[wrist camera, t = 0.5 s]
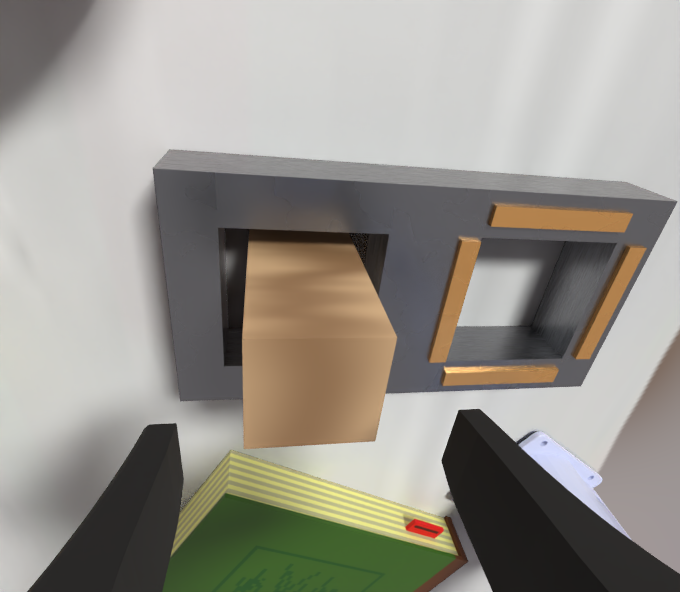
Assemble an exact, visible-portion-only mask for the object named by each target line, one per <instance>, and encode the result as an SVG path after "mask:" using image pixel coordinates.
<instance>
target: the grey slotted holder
mask: <svg viewBox="0 0 680 592" xmlns="http://www.w3.org/2000/svg"><path fill="white" fill-rule="evenodd" d="M153 174H154V182H155V191H156V199H157V208H158V216H159V225H160V233H161V241H162V250H163V258H164V267H165V275H166V284H167V292H168V301H169V309H170V317H171V326H172V334H173V343H174V351H175V360H176V368H177V376H178V385H179V393H180V401H198V400H224V399H243V363H242V333H243V328H229V327H228V299H227V271H226V243H225V228H241V229H267V230H293V231H318V232H344V233H369V236H368V243H367V250H366V256H365V263H364V267H365V269H366V271H367V273H368V276H369V278H370V280H371V282H372V284H373V286H374V288H375V291H376V293H377V295H378V297H379V299H380V301H381V304H382V306H383V308H384V310H385V312H386V314H387V316H388V319H389V321H390V323H391V325H392V327H393V329H394V332H395V334H396V336H397V341H396V346H395V351H394V355H393V360H392V365H391V369H390V374H389V379H388V383H387V388H386V393H412V392H439V391H465V390H492V389H519V388H546V387H573V386H581V385H582V383H583V381H584V379H585V377H586V375H587V373H588V371H589V369H590V368H591V366H592V364H593V362H594V360H595V358H596V356H597V354H598V352H599V350H600V348H601V347H602V345H603V343H604V341H605V339H606V337H607V335H608V333H609V331H610V329H611V327H612V326H613V324H614V322H615V320H616V318H617V316H618V314H619V312H620V310H621V308H622V306H623V305H624V303H625V301H626V299H627V297H628V295H629V293H630V291H631V289H632V287H633V285H634V283H635V282H636V280H637V278H638V276H639V274H640V272H641V270H642V268H643V266H644V264H645V262H646V261H647V259H648V257H649V255H650V253H651V251H652V249H653V247H654V245H655V243H656V241H657V240H658V238H659V236H660V234H661V232H662V230H663V228H664V226H665V224H666V222H667V220H668V219H669V217H670V215H671V213H672V211H673V209H674V207H675V205H676V203H677V201H675V200H672V199H670V198H667V197H664V196H662V195H659V194H656V193H654V192H651V191H648V190H646V189H643V188H640V187H638V186H635V185H632V184H630V183H627V182H616V181H602V180H588V179H574V178H560V177H546V176H532V175H518V174H504V173H490V172H476V171H462V170H448V169H434V168H420V167H406V166H392V165H378V164H364V163H350V162H336V161H322V160H309V159H295V158H281V157H267V156H253V155H239V154H225V153H211V152H197V151H183V150H169V151H168V152H167V153H166V154H165V155H164V156H163V157H162V159H161V160H160V161H159V162H158V163H157V164H156V165H155V167H154V168H153ZM482 238H500V239H525V240H551V241H566V242H565V245H564V247H563V250H562V252H561V255H560V257H559V260H558V262H557V265H556V267H555V269H554V272H553V274H552V277H551V279H550V282H549V284H548V287H547V289H546V292H545V294H544V297H543V299H542V301H541V304H540V306H539V309H538V311H537V314H536V316H535V319H534V321H533V324H532V326H498V327H456V326H457V323H458V319H459V316H460V313H461V309H462V306H463V302H464V299H465V296H466V292H467V289H468V286H469V282H470V279H471V275H472V272H473V269H474V265H475V262H476V259H477V255H478V252H479V249H480V245H481V240H482Z"/></svg>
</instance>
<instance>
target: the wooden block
mask: <svg viewBox="0 0 680 592" xmlns="http://www.w3.org/2000/svg"><path fill="white" fill-rule="evenodd" d="M396 341H397V336H396V334H395V332H394V329H393V327H392V325H391V323H390V321H389V319H388V316H387V314H386V312H385V310H384V308H383V306H382V304H381V301H380V299H379V297H378V295H377V293H376V291H375V288H374V286H373V284H372V282H371V280H370V278H369V276H368V273H367V271H366V269H365V267H364V265H363V263H362V261H361V258H360V256H359V254H358V252H357V250H356V248H355V245H354V243H353V241H352V239H351V237H350V235H349V233H344V232H318V231H293V230H267V229H249V241H248V256H247V272H246V287H245V303H244V318H243V333H242V363H243V426H244V449H253V448H270V447H286V446H303V445H319V444H336V443H353V442H369V441H375V439H376V435H377V430H378V425H379V421H380V416H381V411H382V407H383V402H384V397H385V393H386V388H387V383H388V379H389V374H390V369H391V365H392V360H393V355H394V351H395V346H396Z"/></svg>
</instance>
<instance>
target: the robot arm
mask: <svg viewBox="0 0 680 592" xmlns="http://www.w3.org/2000/svg"><path fill="white" fill-rule="evenodd" d="M441 461H442V464H443V468H444V471H445V475H446V478H447V482H448V485H449V488H450V491H451V495H452V498H453V501H454V503H455V505H456V508H457V510H458V512H459V515H460V517H461V519H462V522H463V524H464V526H465V529H466V531H467V533H468V536H469V538H470V540H471V543H472V545H473V547H474V549H475V552H476V554H477V556H478V559H479V561H480V563H481V566H482V568H483V570H484V572H485V575H486V577H487V579H488V582H489V584H490V586H491V589H492V591H493V592H680V574H679V573H677V572H676V571H674V570H673V569H671V568H670V567H668V566H667V565H665V564H664V563H662V562H661V561H660V560H658V559H657V558H655V557H654V556H652V555H651V554H650V553H648V552H647V551H645V550H644V549H643V548H641V547H640V546H639V545H637V544H636V543H634V542H633V541H632V540H631V539H630V537H629V536H628V534H627V533H626V532H625V530H624V529H623V528H622V526H621V525H620V524H619V522H618V521H617V520H616V518H615V517H614V516H613V514H612V513H611V512H610V510H609V509H608V508H607V506H606V505H605V504H604V502H603V501H602V500H601V498H600V497H599V496H598V494H597V493H596V492H595V490H594V489H593V488H594V487H596V486H597V485H599V484H600V483H601V482H602V478H601V476H600V475H599V474H598V473H597V472H595V471H594V470H593V469H591V468H590V467H589V466H587V465H586V464H585V463H583V462H582V461H581V460H579V459H578V458H577V457H575V456H574V455H573V454H571V453H570V452H569V451H567V450H566V449H565V448H563V447H562V446H561V445H559V444H558V443H557V442H555V441H554V440H553V439H551V438H550V437H549V436H547V435H546V434H545V433H543V432H535V433H533V434H532V435H531V436H529V437H528V438H527V439H525V440H524V441H522V442H521V443H520V444H517V443H516V442H515V441H513V440H512V439H511V438H510V437H509V436H508V435H507V434H506V433H505V432H504V431H503V430H502V429H501V428H500V427H499V426H498V425H497V424H495V423H494V422H493V421H492V420H491V419H490V418H489V417H488V416H487V415H486V414H485V413H483V412H482V411H481V410H480V409H469V410H459V411H458V414H457V417H456V420H455V422H454V425H453V428H452V431H451V434H450V437H449V440H448V443H447V446H446V449H445V452H444V455H443V457H442V460H441ZM183 480H184V478H183V470H182V463H181V455H180V447H179V440H178V432H177V424H176V423H174V424H153V425H148V426H147V427H146V428H144V430H143V432H142V434H141V435H140V437H139V439H138V440H137V442H136V444H135V445H134V447H133V449H132V450H131V452H130V454H129V455H128V457H127V458H126V460H125V461H124V463H123V465H122V466H121V468H120V469H119V471H118V472H117V474H116V475H115V477H114V478H113V480H112V481H111V483H110V484H109V485H108V487H107V488H106V490H105V491H104V493H103V494H102V495H101V497H100V498H99V500H98V501H97V503H96V504H95V505H94V507H93V508H92V510H91V511H90V513H89V514H88V515H87V517H86V518H85V519H84V521H83V522H82V523H81V525H80V526H79V527H78V529H77V530H76V531H75V533H74V534H73V535H72V536H71V538H70V539H69V540H68V542H67V543H66V544H65V546H64V547H63V548H62V549H61V551H60V552H59V553H58V555H57V556H56V557H55V559H54V560H53V561H52V562H51V564H50V565H49V566H48V567H47V569H46V570H45V571H44V572H43V573H42V575H41V576H40V577H39V578H38V580H37V581H36V582H35V583H34V584H33V586H32V587H31V588H30V589H29V590H28V591H27V592H162V591H163V586H164V582H165V578H166V573H167V569H168V565H169V561H170V556H171V552H172V548H173V543H174V539H175V535H176V530H177V526H178V520H179V512H180V505H181V497H182V488H183Z"/></svg>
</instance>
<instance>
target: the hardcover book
mask: <svg viewBox="0 0 680 592" xmlns="http://www.w3.org/2000/svg"><path fill="white" fill-rule="evenodd" d="M467 562H468V560H467V557H466V555H465V552H464V550H463V547H462V545H461V542H460V540H459V537H458V535H457V532H456V530H455V527H454V525H453V523H452V520H451V518H450V517H447V516H445V517H444V518H443V517H440V516H436V515H433V514H430V513H427V512H424V511H421V510H418V509H415V508H411V507H408V506H405V505H402V504H399V503H396V502H393V501H389V500H386V499H383V498H380V497H377V496H374V495H371V494H368V493H364V492H361V491H358V490H355V489H352V488H349V487H346V486H343V485H339V484H336V483H333V482H330V481H327V480H324V479H321V478H318V477H314V476H311V475H308V474H305V473H302V472H299V471H296V470H293V469H289V468H286V467H283V466H280V465H277V464H274V463H271V462H268V461H264V460H261V459H258V458H255V457H252V456H249V455H246V454H243V453H239V452H236V451H233V450H230V451H229V453H228V454H227V455H226V456H225V458H224V459H223V460H222V461H221V462H220V464H219V465H218V466H217V467H216V469H215V470H214V471H213V472H212V474H211V475H210V476H209V477H208V478H207V480H206V481H205V482H204V483H203V485H202V486H201V487H200V488H199V489H198V491H197V492H196V493H195V494H194V496H193V497H192V498H191V499H190V501H189V502H188V503H187V504H186V505H185V507H184V508H183V509H182V510H181V512H180V513H179V520H178V526H177V530H176V535H175V539H174V543H173V548H172V552H171V556H170V561H169V565H168V569H167V573H166V578H165V582H164V586H163V591H162V592H429V591H430V590H432V589H433V588H434V587H436V586H437V585H438V584H439V583H441V582H442V581H443V580H445V579H446V578H447V577H449V576H450V575H451V574H453V573H454V572H455V571H457V570H458V569H459V568H461V567H462V566H463V565H464V564H466V563H467Z"/></svg>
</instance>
